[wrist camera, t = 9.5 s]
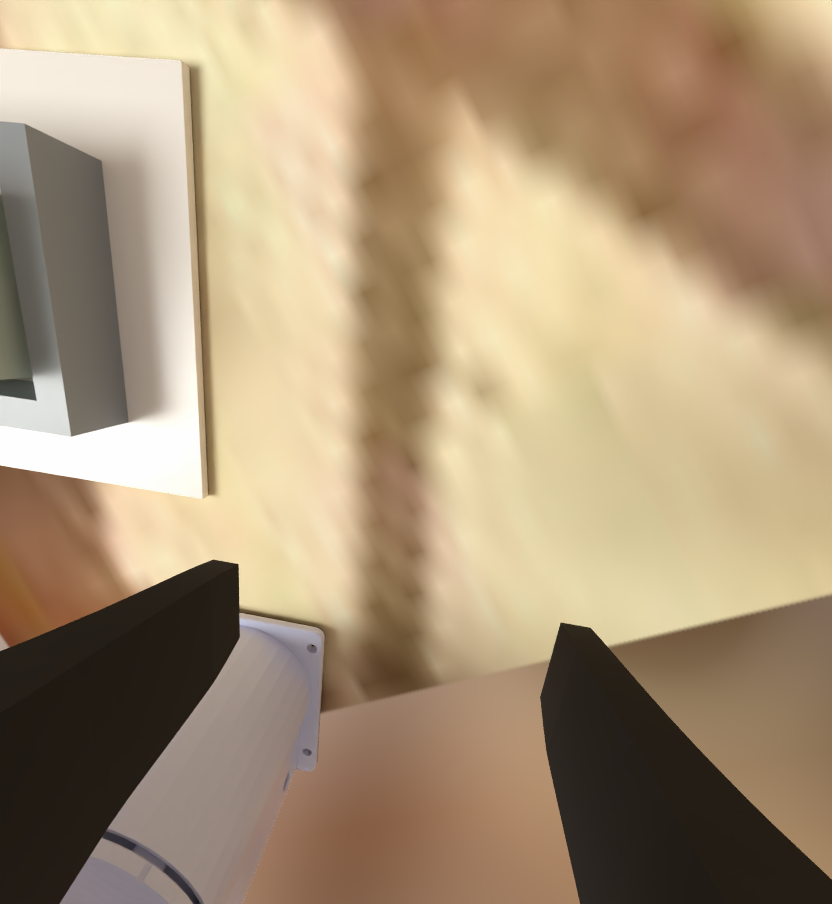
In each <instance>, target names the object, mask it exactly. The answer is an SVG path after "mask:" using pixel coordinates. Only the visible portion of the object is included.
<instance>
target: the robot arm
mask: <svg viewBox="0 0 832 904" xmlns="http://www.w3.org/2000/svg"><path fill="white" fill-rule="evenodd" d="M324 640H325V636H324V633H323V631H322V630H320V629H319V628H316V627H312V626H307V625H302V624H296V623H291V622H286V621H281V620H276V619H270V618H265V617H260V616H255V615H249V614H244V613H239V568H238V564H234V563H229V562H223V561H218V560H211V561H209V562H206V563H203V564H201V565H199V566H196V567H194V568H192V569H189V570H187V571H185V572H183V573H180V574H178V575H176V576H174V577H172V578H169V579H167V580H165V581H163V582H161V583H159V584H156V585H154V586H152V587H150V588H148V589H145V590H143V591H141V592H139V593H137V594H134V595H132V596H130V597H128V598H126V599H123V600H121V601H119V602H117V603H115V604H112V605H110V606H108V607H106V608H104V609H101V610H99V611H97V612H94V613H92V614H90V615H87V616H85V617H82V618H80V619H78V620H75V621H73V622H71V623H68V624H66V625H64V626H61V627H59V628H56V629H54V630H52V631H49V632H47V633H45V634H42V635H40V636H37V637H35V638H33V639H30V640H28V641H25V642H23V643H20V644H18V645H15V646H13V647H10V648H7V649H5V650H2V651H0V904H243V901H244V899H245V896H246V894H247V892H248V889H249V887H250V884H251V882H252V879H253V877H254V874H255V872H256V869H257V867H258V864H259V862H260V859H261V856H262V854H263V851H264V849H265V846H266V844H267V841H268V839H269V836H270V834H271V831H272V829H273V826H274V823H275V821H276V819H277V816H278V813H279V811H280V808H281V806H282V803H283V801H284V798H285V796H286V793H287V791H288V788H289V786H290V783H291V781H292V778H293V775H294V773H295V770H296V769H299V770H304V771H312V770H314V769H315V766H316V763H317V759H318V742H319V725H320V709H321V692H322V675H323V657H324ZM311 644H312V645H315V646H316V647H313V646H312V645H311ZM540 698H541V708H542V717H543V727H544V734H545V743H546V750H547V756H548V760H549V766H550V770H551V774H552V779H553V784H554V788H555V793H556V798H557V802H558V806H559V810H560V815H561V820H562V824H563V828H564V833H565V838H566V842H567V846H568V851H569V856H570V860H571V864H572V869H573V873H574V878H575V882H576V887H577V891H578V896H579V900H580V904H832V879H830V878H829V877H828V876H827V875H826V874H825V873H824V872H823V871H822V870H821V869H820V868H819V867H818V866H817V865H815V864H814V863H813V862H812V861H811V860H810V859H809V858H808V857H807V856H806V855H805V854H804V853H803V852H801V850H800V849H798V848H797V847H796V846H795V845H794V844H793V843H792V842H791V841H790V840H789V839H788V838H787V837H786V836H785V835H784V834H783V833H782V832H780V831H779V830H778V829H777V828H776V827H775V826H774V825H773V824H772V823H771V822H770V821H769V820H768V819H767V818H766V817H765V816H764V815H763V814H762V813H761V812H760V811H759V810H758V809H757V808H756V807H755V806H754V805H753V804H752V803H751V802H750V801H749V800H748V799H746V797H745V796H744V795H743V794H742V793H741V792H740V791H739V790H738V789H737V788H736V787H735V786H734V785H733V784H732V783H731V782H730V781H729V780H728V779H727V778H726V777H725V776H724V775H723V774H722V773H721V772H720V771H719V770H718V769H717V768H716V767H715V766H714V765H713V764H712V762H710V761H709V759H708V758H707V757H706V756H705V755H704V754H703V753H702V752H701V751H700V750H699V749H698V748H697V747H696V746H695V745H694V744H693V743H692V741H691V740H690V739H689V738H688V737H687V736H686V735H685V734H684V733H683V732H682V731H681V730H680V729H679V727H678V726H677V725H676V724H675V723H674V722H673V721H672V720H671V719H670V718H669V717H668V716H667V714H666V713H665V712H664V711H663V710H662V709H661V708H660V706H659V705H658V704H657V703H656V702H655V701H654V700H653V699H652V698H651V696H650V695H649V694H648V693H647V692H646V691H645V690H644V688H643V687H642V686H641V685H640V684H639V683H638V682H637V680H636V679H635V678H634V677H633V676H632V675H631V674H630V672H629V671H628V670H627V669H626V668H625V667H624V665H622V663H621V662H620V661H619V660H618V658H617V657H616V656H615V655H614V654H613V653H612V652H611V650H610V649H609V648H608V647H607V646H606V645H605V644H604V642H603V641H602V640H601V639H600V638H599V637H598V636H597V635H596V633H595V632H594V631H593V630H592V629H591V628H588V627H582V626H577V625H571V624H566V623H561V624H560V627H559V631H558V635H557V638H556V642H555V645H554V649H553V653H552V656H551V660H550V664H549V668H548V671H547V675H546V678H545V682H544V686H543V689H542V693H541V697H540Z"/></svg>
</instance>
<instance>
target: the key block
mask: <svg viewBox="0 0 832 904" xmlns="http://www.w3.org/2000/svg"><path fill="white" fill-rule="evenodd" d="M28 377H33V376H32V370H31V364H30V358H29V352H28V347H27V341H26V335H25V329H24V323H23V317H22V312H21V306H20V300H19V294H18V288H17V283H16V277H15V271H14V265H13V259H12V253H11V248H10V242H9V236H8V230H7V224H6V218H5V213H4V207H3V201H2V195H0V380H6V379H17V378H28Z"/></svg>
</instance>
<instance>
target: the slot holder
mask: <svg viewBox="0 0 832 904" xmlns="http://www.w3.org/2000/svg"><path fill="white" fill-rule="evenodd" d="M0 195H2V201H3V207H4V213H5V218H6V224H7V230H8V236H9V242H10V248H11V253H12V259H13V265H14V271H15V277H16V283H17V288H18V294H19V300H20V306H21V312H22V317H23V323H24V329H25V335H26V341H27V347H28V352H29V358H30V364H31V370H32V376H33V377H28V378H17V379H6V380H0V465H2V466H8V467H14V468H20V469H26V470H32V471H38V472H44V473H50V474H56V475H62V476H68V477H74V478H80V479H86V480H92V481H98V482H104V483H110V484H116V485H122V486H128V487H134V488H140V489H146V490H152V491H158V492H164V493H170V494H175V495H181V496H187V497H193V498H199V499H204V498H205V497H207V496H208V480H207V457H206V434H205V412H204V389H203V366H202V344H201V321H200V298H199V276H198V253H197V230H196V208H195V185H194V162H193V140H192V117H191V94H190V72H189V68H188V67H187V66H186V65H185V64H184V63H183V62H182V61H181V60H167V59H152V58H137V57H121V56H106V55H91V54H76V53H61V52H46V51H30V50H15V49H0Z"/></svg>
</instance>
